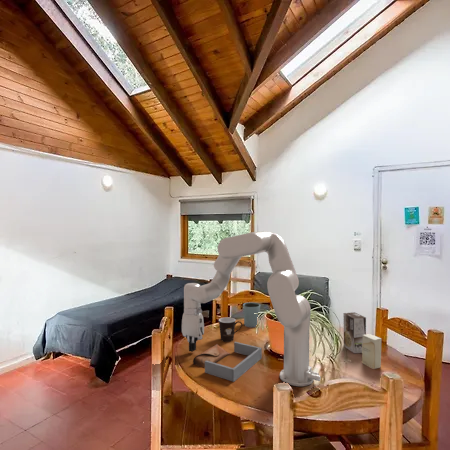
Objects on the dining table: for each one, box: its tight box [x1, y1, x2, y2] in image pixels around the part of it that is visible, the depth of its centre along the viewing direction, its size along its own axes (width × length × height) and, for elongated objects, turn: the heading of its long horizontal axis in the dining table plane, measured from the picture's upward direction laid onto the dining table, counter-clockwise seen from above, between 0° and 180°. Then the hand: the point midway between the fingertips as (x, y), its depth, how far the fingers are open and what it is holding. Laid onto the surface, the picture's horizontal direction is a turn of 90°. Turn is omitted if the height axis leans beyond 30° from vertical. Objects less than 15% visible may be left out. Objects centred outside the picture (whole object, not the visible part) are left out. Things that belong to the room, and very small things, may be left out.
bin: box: [204, 341, 263, 382], centre depth 129 cm, size 14×24×4 cm, turn 148°
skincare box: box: [361, 333, 382, 370], centre depth 129 cm, size 6×4×12 cm
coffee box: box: [343, 311, 367, 354], centre depth 145 cm, size 9×6×16 cm
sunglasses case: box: [192, 343, 231, 369], centre depth 136 cm, size 18×7×7 cm
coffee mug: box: [218, 316, 243, 343], centre depth 158 cm, size 12×9×10 cm
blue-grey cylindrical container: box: [242, 301, 261, 328], centre depth 180 cm, size 10×10×12 cm
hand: (192, 350), depth 141 cm, fingers closed
